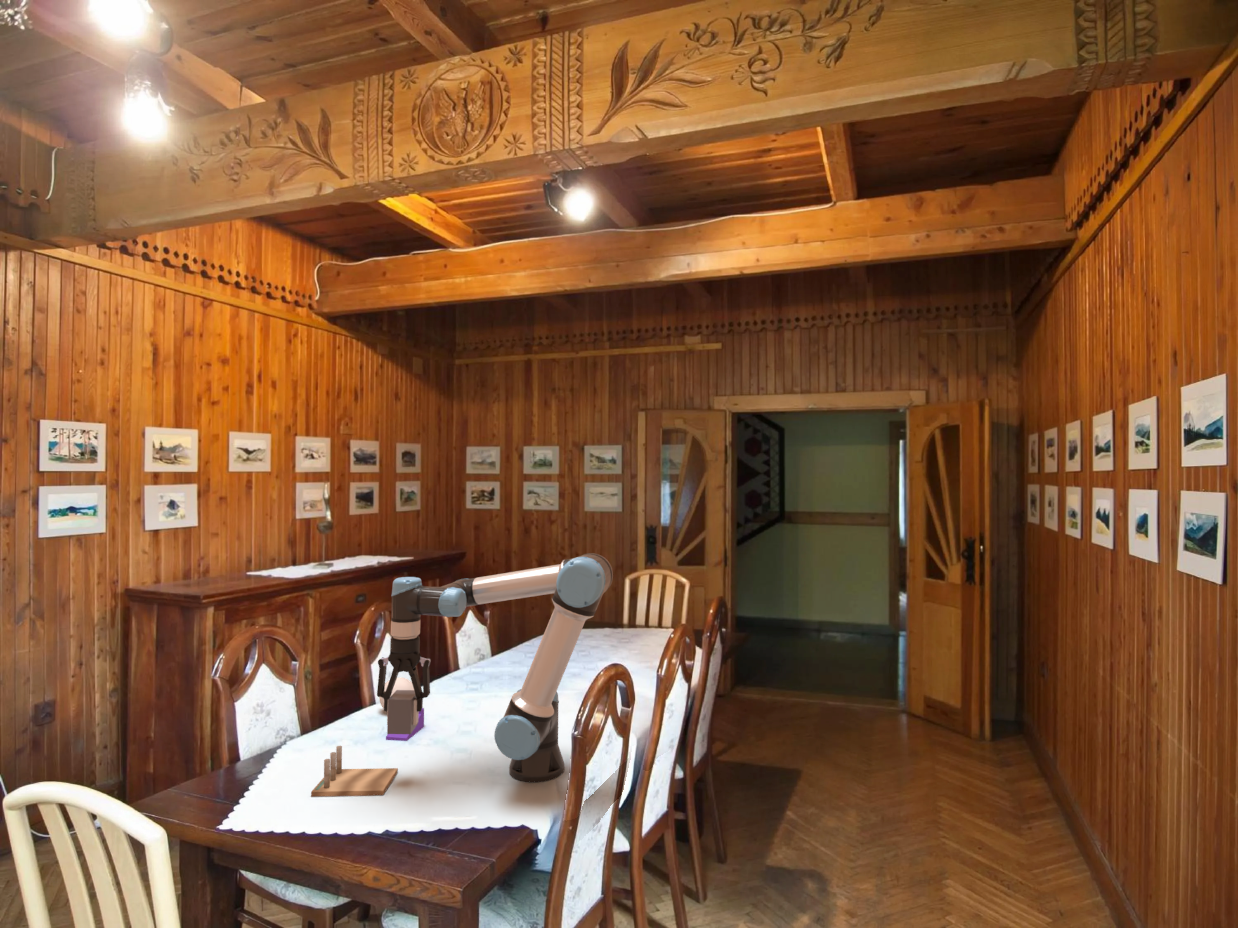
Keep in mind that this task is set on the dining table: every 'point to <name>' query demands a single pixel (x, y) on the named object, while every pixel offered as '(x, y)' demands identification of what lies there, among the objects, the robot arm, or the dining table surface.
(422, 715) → the bracket
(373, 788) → the board
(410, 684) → the decorative ball
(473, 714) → the dining table surface
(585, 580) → the robot arm
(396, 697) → the block
